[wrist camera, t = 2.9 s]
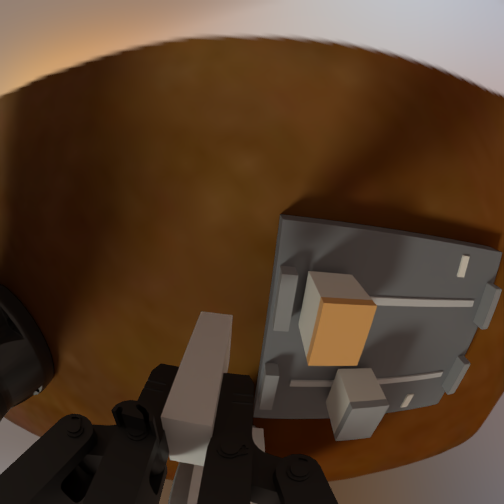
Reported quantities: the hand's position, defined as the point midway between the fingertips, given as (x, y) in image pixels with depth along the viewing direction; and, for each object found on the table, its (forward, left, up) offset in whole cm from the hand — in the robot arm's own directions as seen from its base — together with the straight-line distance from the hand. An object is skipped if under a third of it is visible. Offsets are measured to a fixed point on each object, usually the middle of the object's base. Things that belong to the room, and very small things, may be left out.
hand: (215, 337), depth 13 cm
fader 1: (+7, 0, -5) cm, 8 cm away
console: (+14, -4, -8) cm, 16 cm away
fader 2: (+11, -8, -5) cm, 14 cm away
